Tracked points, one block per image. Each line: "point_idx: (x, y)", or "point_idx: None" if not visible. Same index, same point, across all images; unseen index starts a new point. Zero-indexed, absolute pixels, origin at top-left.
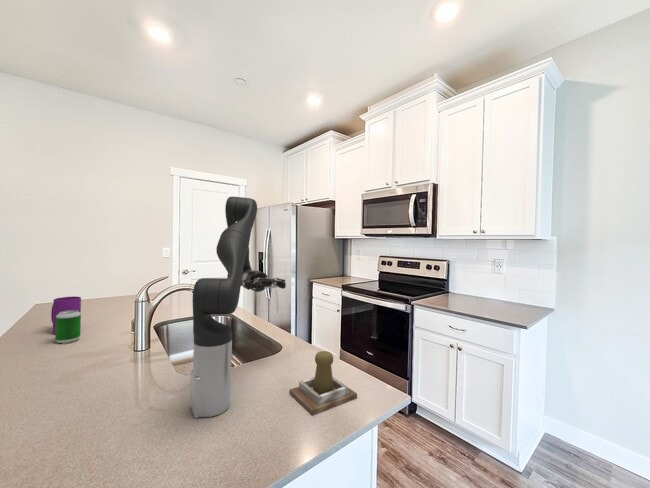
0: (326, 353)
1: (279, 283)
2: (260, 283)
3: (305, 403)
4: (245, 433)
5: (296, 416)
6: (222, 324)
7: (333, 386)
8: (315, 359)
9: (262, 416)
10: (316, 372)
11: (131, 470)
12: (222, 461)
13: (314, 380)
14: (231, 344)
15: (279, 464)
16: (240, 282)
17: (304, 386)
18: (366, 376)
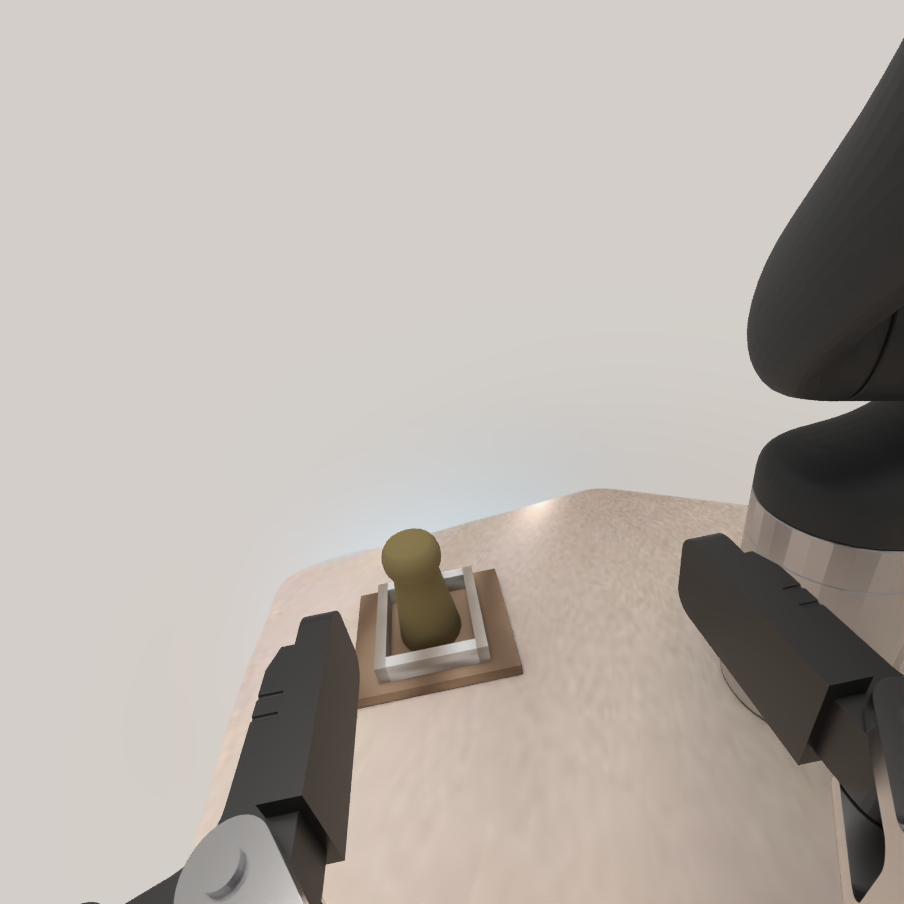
0: (404, 535)
1: (325, 770)
2: (717, 560)
3: (499, 593)
4: (648, 563)
5: (530, 582)
6: (830, 462)
7: (391, 637)
8: (439, 554)
9: (611, 600)
10: (443, 582)
11: None
12: (678, 520)
13: (450, 607)
14: (750, 506)
15: (583, 503)
16: (784, 261)
17: (482, 619)
18: (240, 693)
